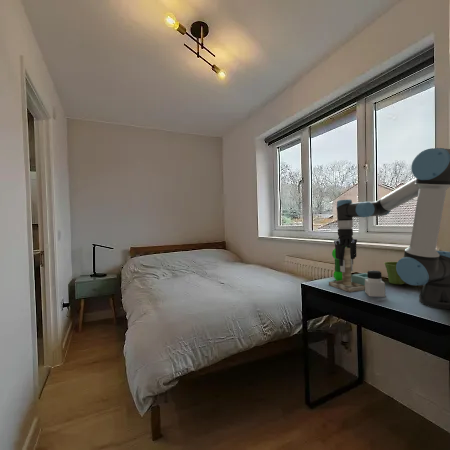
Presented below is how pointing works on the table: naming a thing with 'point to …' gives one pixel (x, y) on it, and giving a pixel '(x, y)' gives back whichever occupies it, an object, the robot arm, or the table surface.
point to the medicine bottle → (374, 284)
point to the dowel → (347, 268)
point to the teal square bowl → (359, 278)
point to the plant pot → (393, 273)
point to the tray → (350, 288)
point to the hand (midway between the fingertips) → (346, 271)
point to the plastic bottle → (337, 268)
